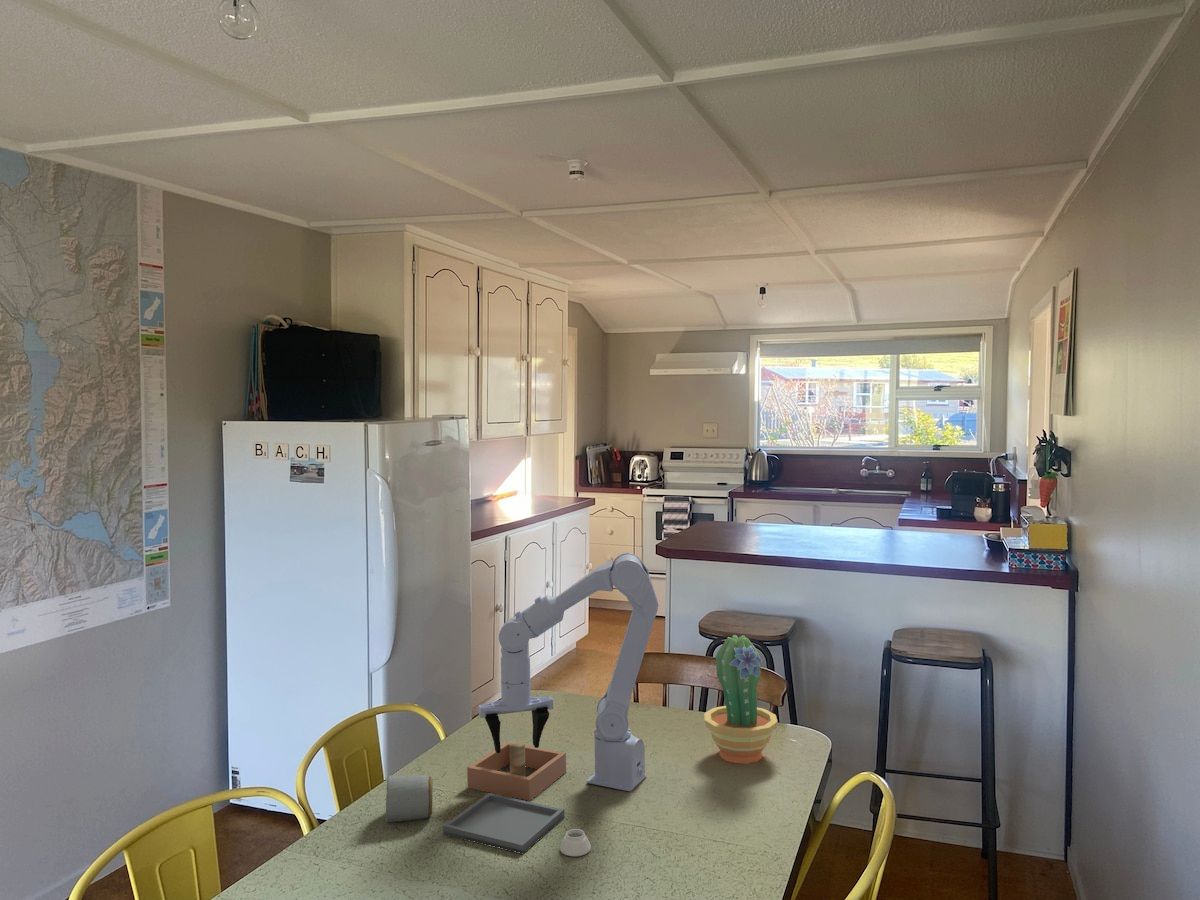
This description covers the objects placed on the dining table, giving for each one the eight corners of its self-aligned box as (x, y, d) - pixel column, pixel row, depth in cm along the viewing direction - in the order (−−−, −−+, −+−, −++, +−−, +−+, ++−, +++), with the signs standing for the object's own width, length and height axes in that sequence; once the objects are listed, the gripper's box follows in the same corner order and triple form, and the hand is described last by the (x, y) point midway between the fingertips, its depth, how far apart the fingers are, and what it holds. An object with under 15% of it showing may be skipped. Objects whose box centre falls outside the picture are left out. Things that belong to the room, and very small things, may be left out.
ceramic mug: (433, 824, 149) (432, 781, 149) (385, 830, 147) (384, 786, 147) (432, 799, 159) (432, 758, 159) (388, 804, 158) (387, 763, 157)
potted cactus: (695, 764, 173) (694, 642, 172) (713, 737, 187) (711, 625, 186) (771, 774, 167) (770, 649, 166) (783, 745, 182) (782, 630, 181)
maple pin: (528, 778, 167) (527, 743, 167) (520, 784, 165) (519, 748, 164) (515, 775, 169) (514, 741, 168) (507, 781, 166) (506, 746, 166)
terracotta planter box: (566, 772, 170) (565, 752, 170) (529, 801, 157) (529, 780, 157) (507, 761, 176) (506, 742, 176) (467, 787, 164) (467, 767, 163)
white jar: (596, 849, 140) (574, 840, 143) (596, 831, 140) (573, 823, 143) (577, 862, 136) (554, 852, 139) (576, 843, 136) (553, 834, 139)
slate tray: (564, 817, 151) (564, 809, 151) (522, 854, 138) (522, 845, 138) (489, 800, 158) (489, 792, 158) (443, 834, 145) (442, 825, 145)
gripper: (546, 670, 172) (547, 736, 173) (475, 678, 168) (476, 746, 168) (555, 680, 165) (556, 749, 166) (481, 688, 161) (483, 759, 161)
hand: (516, 748), depth 166 cm, fingers open, 7 cm apart
